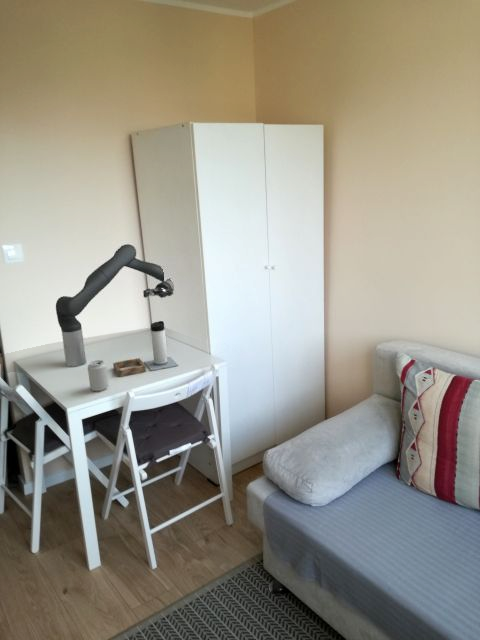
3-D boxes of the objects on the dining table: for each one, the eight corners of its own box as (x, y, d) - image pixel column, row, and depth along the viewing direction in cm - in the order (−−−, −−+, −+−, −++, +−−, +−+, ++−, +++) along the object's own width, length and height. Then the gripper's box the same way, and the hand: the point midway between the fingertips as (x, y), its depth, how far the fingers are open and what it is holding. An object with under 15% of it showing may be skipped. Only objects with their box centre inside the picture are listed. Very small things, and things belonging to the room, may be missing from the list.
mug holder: (118, 377, 228) (118, 371, 227) (113, 368, 239) (112, 362, 238) (146, 372, 233) (145, 365, 232) (139, 363, 244) (139, 357, 243)
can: (110, 390, 214) (106, 363, 211) (91, 393, 212) (87, 366, 209) (107, 384, 221) (104, 358, 218) (89, 387, 219) (86, 360, 215)
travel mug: (170, 362, 243) (167, 321, 237) (161, 366, 237) (157, 325, 232) (160, 360, 246) (157, 320, 240) (151, 364, 241) (147, 323, 235)
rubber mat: (151, 371, 233) (151, 370, 233) (144, 362, 245) (144, 361, 245) (178, 366, 238) (178, 365, 238) (170, 357, 250) (170, 356, 250)
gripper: (151, 281, 264) (138, 288, 249) (177, 281, 261) (165, 288, 245) (153, 295, 266) (140, 303, 251) (178, 295, 263) (167, 303, 248)
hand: (152, 295), depth 248 cm, fingers open, 8 cm apart
